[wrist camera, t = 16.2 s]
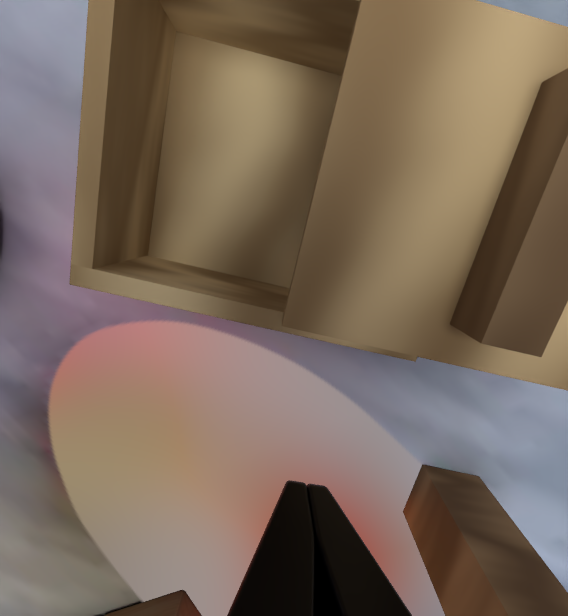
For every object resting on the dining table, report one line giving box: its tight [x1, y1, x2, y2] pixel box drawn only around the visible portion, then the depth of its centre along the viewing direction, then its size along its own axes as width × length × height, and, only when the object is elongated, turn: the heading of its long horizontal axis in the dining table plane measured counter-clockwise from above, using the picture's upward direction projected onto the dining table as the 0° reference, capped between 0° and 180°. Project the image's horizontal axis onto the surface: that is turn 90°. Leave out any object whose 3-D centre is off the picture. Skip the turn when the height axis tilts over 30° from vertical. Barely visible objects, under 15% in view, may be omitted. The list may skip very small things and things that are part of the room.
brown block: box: [403, 465, 568, 616], centre depth 17 cm, size 4×4×11 cm
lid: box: [282, 0, 568, 390], centre depth 10 cm, size 14×11×3 cm
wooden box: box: [70, 0, 417, 362], centre depth 15 cm, size 26×12×6 cm, turn 77°
